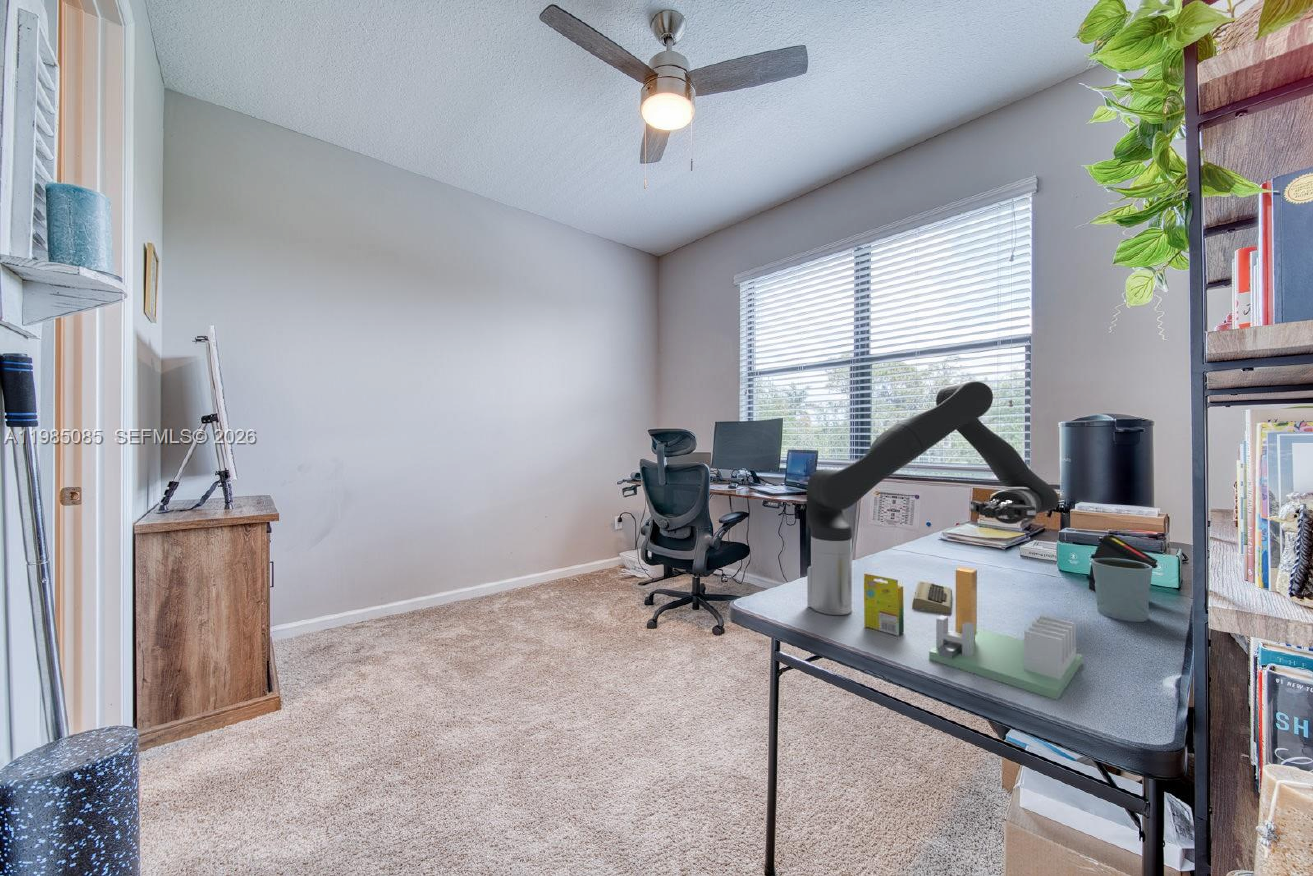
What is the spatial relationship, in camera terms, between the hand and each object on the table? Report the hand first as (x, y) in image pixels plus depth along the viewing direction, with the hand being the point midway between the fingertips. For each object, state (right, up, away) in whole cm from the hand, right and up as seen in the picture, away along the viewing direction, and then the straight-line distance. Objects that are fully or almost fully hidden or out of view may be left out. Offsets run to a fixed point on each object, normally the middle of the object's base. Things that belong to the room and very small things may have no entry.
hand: (988, 512), depth 106 cm
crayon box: (-22, -25, +1) cm, 33 cm away
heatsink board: (-6, -25, -13) cm, 29 cm away
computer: (-2, -26, +19) cm, 32 cm away
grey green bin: (+36, -25, +9) cm, 45 cm away
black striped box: (+49, -25, +22) cm, 59 cm away
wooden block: (-13, -24, -11) cm, 30 cm away
